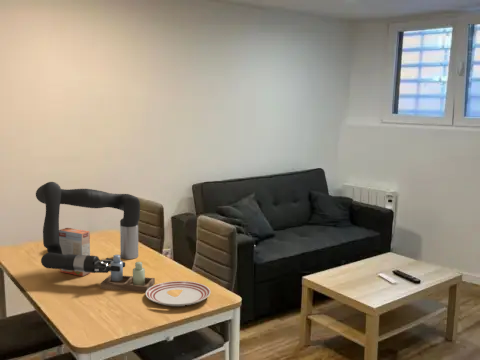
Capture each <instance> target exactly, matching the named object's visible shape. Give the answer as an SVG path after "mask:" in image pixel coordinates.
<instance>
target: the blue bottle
mask: <svg viewBox="0 0 480 360" xmlns="http://www.w3.org/2000/svg"><path fill="white" fill-rule="evenodd" d="M112 259H113V261H111V267H112V266H120V271H119V272H117V271H111V272H110V275H111V281H121V280H123V276H124V274H123V273H124V267H123V262H124V261H123V260H121V254H114V255H113V256H112Z"/></svg>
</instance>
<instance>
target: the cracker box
mask: <svg viewBox="0 0 480 360" xmlns="http://www.w3.org/2000/svg"><path fill="white" fill-rule="evenodd" d="M90 232H91V231H90V230H83V229H77V228H71V227H65V228H61V229H59V240H60V246H61V250H62V254H65V255H68V254H72V255H90V256H91V243H90V239H91V237H90V236H91V235H90V234H91V233H90ZM59 272H61V273H66V274H70V275H73V276H74V275H75V276H77V277H78V276H79V277H84V276H87V275H88V274H90V273H89V272H80V271H74V270H66V269H59Z"/></svg>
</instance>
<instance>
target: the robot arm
mask: <svg viewBox="0 0 480 360" xmlns="http://www.w3.org/2000/svg"><path fill="white" fill-rule="evenodd" d="M35 197H36V199H37V200H38V202H40V203H41V204H45V216H44V219H43V220H44V221H43V226H42V241H43V244H42V245H43V247H44V248H45V249H46V251H47V252H46V253H44V254H43V255H42V256H41V259H40V262H41V263H40V264H41V265H42V266H43V267H44V268H46V269H51V270H52V269H55V270H58V269H59V270H60V269H66V270H74V271H80V272H89V274H91V273H92V274H97V273H99V274H100V273H101V274H104V273H105V274H109V272H110V273H111V271H117V272H119V271H120V266H112V267H111V261H113V258H110V257H106V258H105V259H100V258H99V256H98V255H91V254H90V255H72V254H68V255H65V254H62V250H61V246H60V240H59V230H60V209H61V205H67V206H73V207H79V208H81V207H82V208H87V209H88V208H89V209H103V208H112V209H116V210H120V211H122V212H123V218H121V219H120V221H119V223H120V225H119V229H120V230H119V233H120V234H119V237H120V238H119V239H120V242H119V243H120V245H119V246H120V259H124V260H132V259H136V258H138V257H139V221H140V217H141V202H140V199H139V198H138V197H137V196H135V195H134V194H133V195H132V194H129V193H112V192H111V193H110V192H106V191H102V190H97V189H92V188H91V189H90V188H73V189H64V188H61V186H60V185H59V184H58V182H54V181H48V182H46V183H43V184H42V185H41V186H39V187H38V188H37V190H36V191H35ZM125 267H126V262H125V261H123V268H125Z"/></svg>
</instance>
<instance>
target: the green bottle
mask: <svg viewBox="0 0 480 360" xmlns="http://www.w3.org/2000/svg"><path fill="white" fill-rule="evenodd" d="M134 266H135V267H134V268H133V269H132V276H133V285H140V286H145V277H146V271H145V270H146V269H145V268H144V267H143V261H136V262H135V263H134Z"/></svg>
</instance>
